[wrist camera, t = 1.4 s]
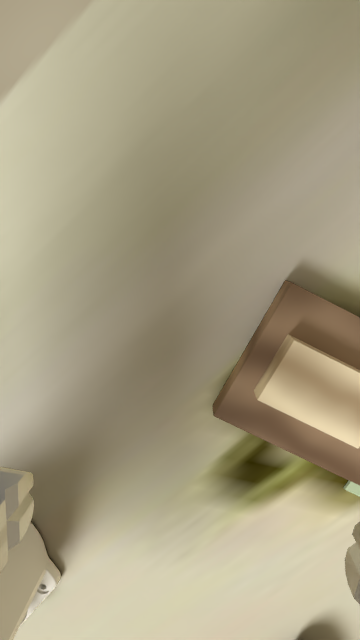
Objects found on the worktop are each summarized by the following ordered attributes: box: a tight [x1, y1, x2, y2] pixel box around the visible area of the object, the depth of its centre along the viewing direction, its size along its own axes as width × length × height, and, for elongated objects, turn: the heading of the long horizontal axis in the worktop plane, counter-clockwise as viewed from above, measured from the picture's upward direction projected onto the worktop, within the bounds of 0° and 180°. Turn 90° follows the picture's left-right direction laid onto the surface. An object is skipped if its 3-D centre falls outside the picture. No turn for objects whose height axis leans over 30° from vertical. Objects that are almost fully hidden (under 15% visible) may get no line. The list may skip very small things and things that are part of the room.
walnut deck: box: [213, 280, 360, 485], centre depth 28 cm, size 14×16×2 cm
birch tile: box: [254, 334, 360, 449], centre depth 26 cm, size 6×10×2 cm, turn 64°
